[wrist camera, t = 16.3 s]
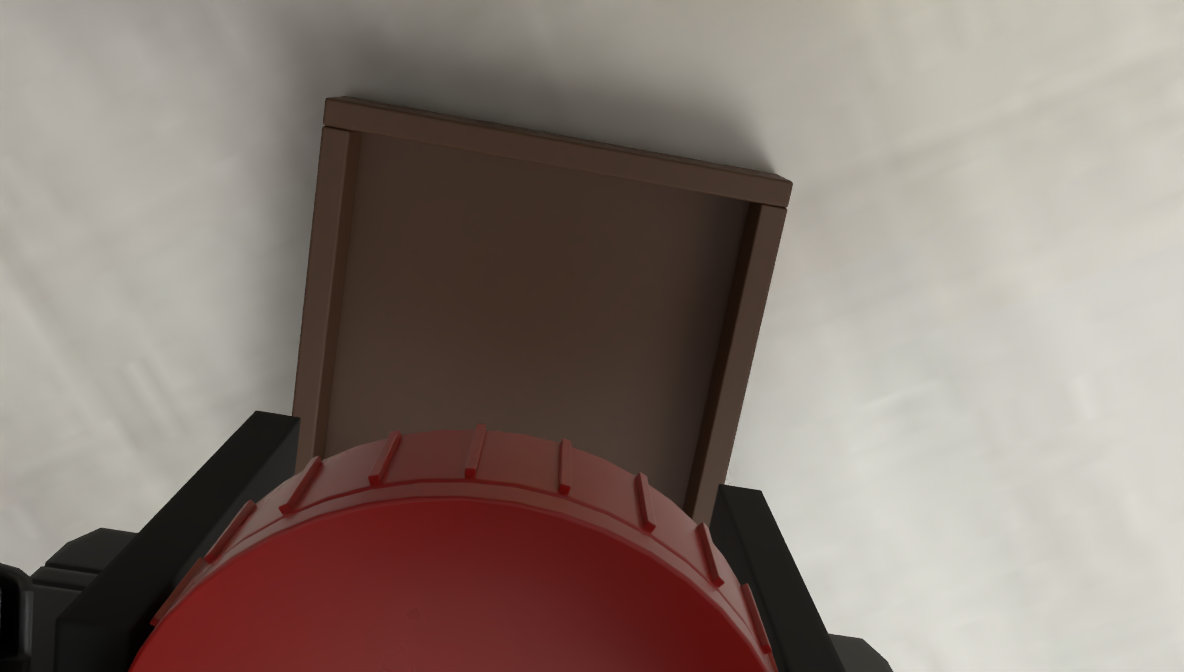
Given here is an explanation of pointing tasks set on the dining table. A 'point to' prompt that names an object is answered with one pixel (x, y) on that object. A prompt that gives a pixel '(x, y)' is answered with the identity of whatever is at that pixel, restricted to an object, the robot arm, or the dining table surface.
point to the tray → (532, 293)
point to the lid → (460, 570)
